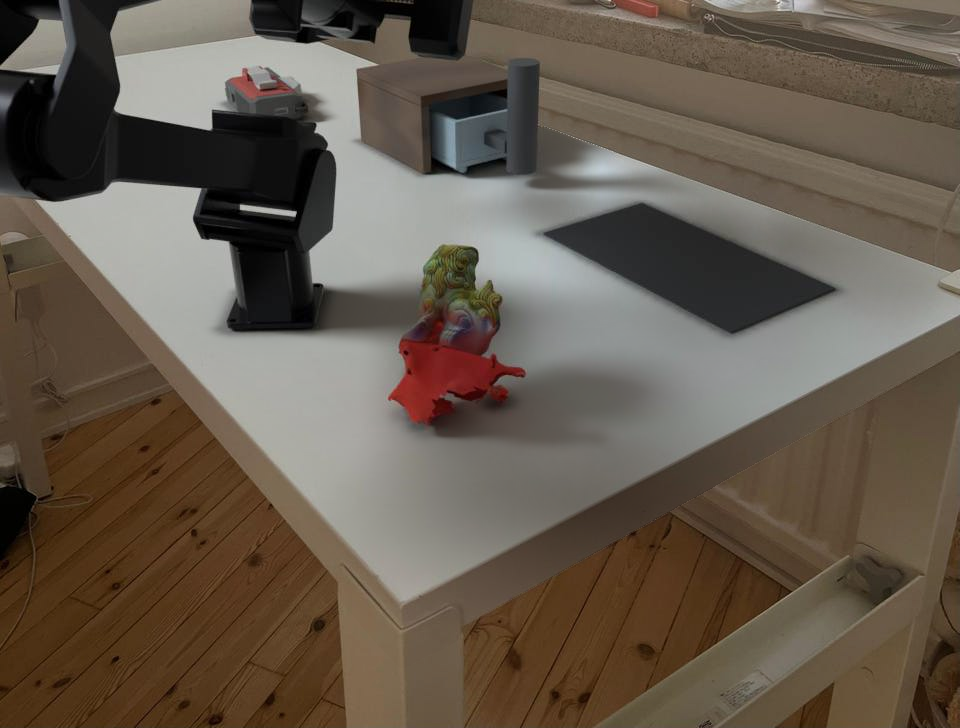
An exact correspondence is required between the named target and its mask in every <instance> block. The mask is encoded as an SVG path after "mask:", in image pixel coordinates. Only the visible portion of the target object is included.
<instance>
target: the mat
mask: <svg viewBox="0 0 960 728" xmlns="http://www.w3.org/2000/svg"><path fill="white" fill-rule="evenodd" d="M542 234H543V235H544V236H546V237H547V238H550V239H552V240H553V241H555V242H557V243H560V244H561V245H564V246H565V247H566V248H569V249H571V250H572V251H574V252H576V253H578V254H580V255H582V256H584V257H586V258H587V259H589V260H592V261H593V262H595V263H597V264H599V265H601V266H603V267H605V268H606V269H609V270H610V271H612V272H614V273H616V274H618V275H620V276H621V277H623V278H626V279H628V280H630V281H631V282H632V283H633V282H634V283H635V284H637V285H639V286H641V287H643V288H645V289H647V290H648V291H650V292H652V293H654V294H655V295H658V296H660V297H662V298H663V299H665V300H668V301H669V302H671V303H673V304H675V305H678V306H679V307H681V308H682V309H685V310H686V311H688V312H691V314H694V315H696V316H698V317H700V318H702V319H704V320H706V321H707V322H709V323H711V324H713V325H715V326H716V327H719V328H721V329H722V330H724V331H726V332H728V333H730V334H732V333H735V332H737V331H739V330H742V329H744V328H747V327H749V326H752V325H754V324H757V323H759V322H761V321H764V320H766V319H768V318H771V317H773V316H776V315H778V314H780V313H783V312H785V311H787V310H790V309H792V308H795V307H797V306H799V305H802V304H804V303H807V302H809V301H812V300H813V299H816V298H818V297H821V296H823V295H825V294H828V293H830V292H833V291H835V290H836V287H835V286H832V285H830V284H828V283H826V282H824V281H821V280H819V279H817V278H814V277H812V276H810V275H807V274H805V273H803V272H801V271H799V270H797V269H794V268H791V267H789V266H787V265H785V264H784V263H783V264H782V263H781V262H778V261H776V260H773V259H771V258H768V257H767V256H764V255H762V254H760V253H757V252H755V251H753V250H750V249H749V248H746V247H744V246H741V245H739V244H737V243H734V242H733V241H730V240H728V239H725V238H723V237H721V236H718V235H716V234H714V233H712V232H710V231H708V230H705V229H703V228H701V227H699V226H696V225H694V224H691V223H690V222H687V221H685V220H682V219H680V218H678V217H675V216H673V215H671V214H668V213H666V212H664V211H662V210H660V209H657V208H655V207H652V206H650V205H648V204H646V203H643V202H640V203H637V204H634V205H630V206H627V207H622V208H620V209H617V210H613V211H611V212H607V213H603V214H600V215H597V216H593V217H590V218H587V219H584V220H581V221H577V222H574V223H569V224H567V225H564V226H560V227H557V228H555V229H551V230H547V231H544V232H543V233H542Z"/></svg>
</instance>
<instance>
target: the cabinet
mask: <svg viewBox="0 0 960 728" xmlns="http://www.w3.org/2000/svg"><path fill="white" fill-rule="evenodd" d="M355 72H356V84H357V96H358V97H357V99H358V100H357V101H358V114H359V128H360V140H361V142H362V143H363V144H366V145H368V146H370V147H372V148H373V149H375V150H377V151H379V152H381V153H383V154H385V155H387V156H389V157H390V158H393V159H394V160H396V161H398V162H400V163H402V164H404V165H406V166H408V167H410V168H411V169H413V170H415V171H417V172H419V173H421V174H423V175H426V174H430V173H432V158H431V143H430V111H429V105H430V104H435V103H440V102H444V101H449V100H454V99H459V98H464V97H469V96H474V95H479V94H483V93H488V92H491V93H493V94H496V95H498V96H501V97H504V98H506V99H507V84H508V68H505V67H502V66H498V65H495V64H493V63H490V62H487V61H485V60H484V61H483V60H482V59H479V58H476V57H473V56H470V55H467V54H465V55H464V56H463V57H462V58H460V59H459V60H458V61H454V60H445V59H436V58H427V57H417V58H411V59H405V60H400V61H393V62H388V63H382V64H376V65H371V66H365V67H359V68H356V70H355Z"/></svg>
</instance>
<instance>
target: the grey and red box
mask: <svg viewBox="0 0 960 728" xmlns="http://www.w3.org/2000/svg"><path fill="white" fill-rule="evenodd" d="M224 86H225V88H224V91H225V97H226V101H227V102H228V104H230V106H232V107H233V108H234V109H235V110H236V111H237V112H243V113H253V114H263V115H274V116H284V117H288V118H291V119H294V120H296V121H299V120H300V119H301V118H302V117H303V116H305V114H307V113H309V111H310V110H309V105H308V104H307V103H305V102H304V101H303V95H302V85H301V83H300V82H298V80H295V78H294V77H293V76H292V75H290V76H281V75H279V74H278V73H277V72H275V71H274V70H272V69H271V68H270V67H267V66H266V67H263V66H261V65H257V66H249V67H243V68H242V69H241V75H240V76H234V77H233V76H232V77H230V78H228V79H227V80H226V81H225V82H224Z"/></svg>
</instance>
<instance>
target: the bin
mask: <svg viewBox="0 0 960 728" xmlns="http://www.w3.org/2000/svg"><path fill="white" fill-rule="evenodd" d="M540 67H541V62H540V61H539V60H538V59H535V58H530V57H516V58H512V59H509V60H508V61H507V70H508V84H507V99H506V98H504V97H501V96H498V95H496V94H493V93H491V92H488V93H483V94H479V95H474V96H469V97H464V98H459V99H454V100H449V101H444V102H440V103H435V104H430V105H429V111H430V143H431V159H433V160H435V161H437V162H439V163H441V164H442V165H444V166H446V167H449V169H450V168H451V169H452V170H454V171H457V172H458V173H460V174H465V173H467V171H468V167H470V166H473V165H477V164H483V163H487V162H490V161H494V160H499V159H502V160H504V161H506V171H507V173H510V174H513V175H521V176H522V175H523V176H524V175H530V174H534V173H535V172H537V169H538V143H539V142H538V138H539V106H540V105H539V104H540V74H541V73H540V72H541V68H540Z"/></svg>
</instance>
